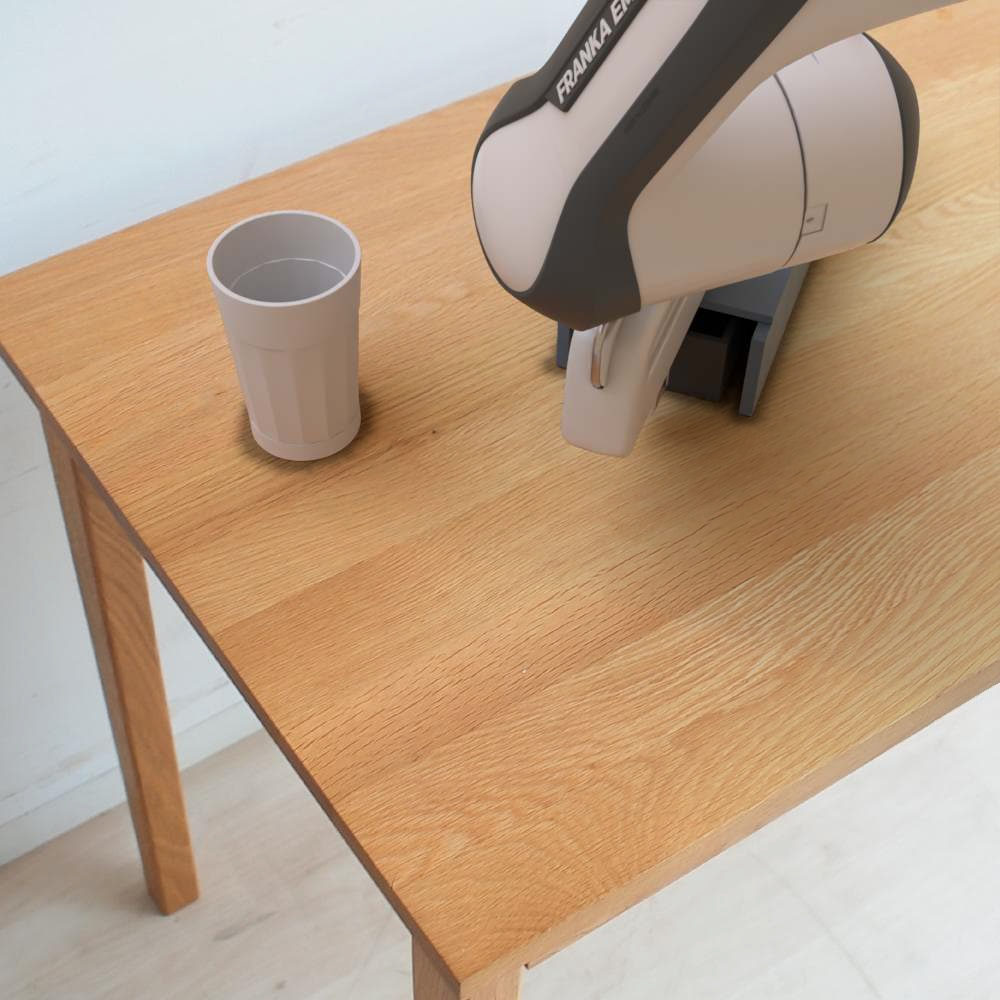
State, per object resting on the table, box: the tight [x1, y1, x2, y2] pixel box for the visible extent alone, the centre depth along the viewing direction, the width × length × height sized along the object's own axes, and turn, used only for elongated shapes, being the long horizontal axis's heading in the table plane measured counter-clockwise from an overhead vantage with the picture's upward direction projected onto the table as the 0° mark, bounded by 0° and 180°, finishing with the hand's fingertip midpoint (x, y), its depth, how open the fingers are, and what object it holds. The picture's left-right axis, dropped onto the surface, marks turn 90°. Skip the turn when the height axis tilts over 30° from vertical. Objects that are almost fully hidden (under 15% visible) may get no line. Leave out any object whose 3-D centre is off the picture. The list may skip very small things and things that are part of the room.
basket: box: [665, 307, 752, 403], centre depth 87 cm, size 10×8×4 cm
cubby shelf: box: [555, 261, 812, 417], centre depth 92 cm, size 29×12×6 cm, turn 159°
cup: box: [206, 209, 362, 462], centre depth 79 cm, size 8×8×12 cm
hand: (644, 400), depth 82 cm, fingers closed
